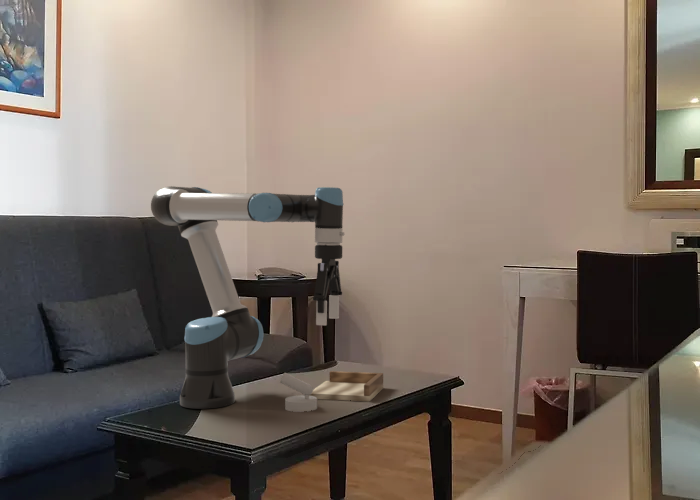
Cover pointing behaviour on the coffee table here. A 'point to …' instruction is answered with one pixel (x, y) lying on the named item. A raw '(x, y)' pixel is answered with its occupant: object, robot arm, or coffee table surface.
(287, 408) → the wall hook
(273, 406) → the coffee table surface
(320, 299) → the robot arm
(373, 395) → the wooden corner jig board
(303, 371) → the coffee table surface
